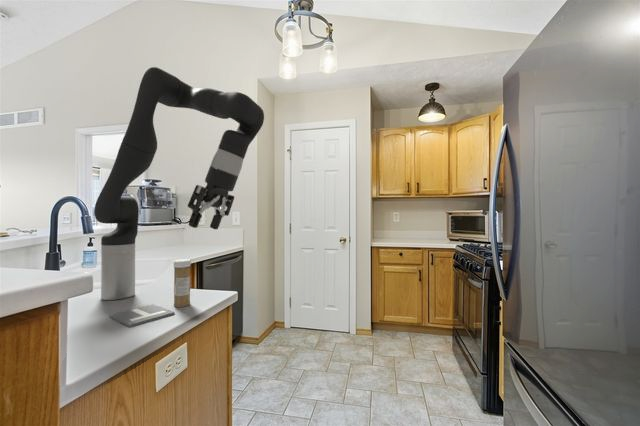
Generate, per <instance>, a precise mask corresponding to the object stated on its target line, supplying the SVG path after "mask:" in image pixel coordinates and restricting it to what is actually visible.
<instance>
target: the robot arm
mask: <svg viewBox="0 0 640 426" xmlns="http://www.w3.org/2000/svg"><path fill="white" fill-rule="evenodd" d="M136 96H137V97H136V99H135V100H136V101H135V104H134V106H133V107H134V108H133V111H132V115H131V117H130V121H129V123H128V126H127V129H126V132H125V134H124V136H123V138H122V141H121V143H120V146H119V149H118V151H117V155H116V158H115V160H114V162H113V165H112V168H111V171H110V173H109V175H108V178H107V179H106V181H105V183H104V185H103V188H102V189H101V191H100V193H99V195H98V197H97V199H96V202H95V204H94V211H93V214H94V218H95V220H96V221H97V222H99V223H100V224H109V225H110V224H114V225H115V224H116V228H115V229H114V230H112V231H111V232H109V233H107V234H104V235H103V236H101V239H100V242H101V243H100V246H101V247H100V249H101V251H100V252H101V253H100V254H101V256H100V258H101V263H100V269H101V270H100V272H101V273H100V300H103V301H114V300H121V299H127V298H131V297H133V296H135V295H136V239H137V236H138V227H139V215H140V214H139V211H140V210H139V203H138V201H137V200H136V198H134V197H133V196H130V195H123V194H124V192H125V191H126V190H127V188H128V186H129V185H131V183H132V182H134V181H135V180H136V179H138V178H139V177H140V176H142V174H144V173H145V172H146V171H147V170H149V168H150V166H151V165H152V162H153V161H154V158H155V155H156V153H157V150H158V139H157V134H156V131H155V124H154V115H155V113H156V112H155V111H156V107H157V105H158V103H159V104H161V105H163V106H167V107H169V108H178V109H179V108H180V109H188V110H189V109H191V110H194V111H197V112H200V113H203V114H206V115H209V116H211V117H215V118H218V119H224V120H229V119H232V121H233V120H234V121H235V122H236V123H238V126H237V127H236V129H235V130H234V129H233V130H232V129H227V130H225V131H224V132H223V134H222V136H221V139H220V142H219V145H218V147H217V150H216V152H215V154H214V156H213V157H212V160H211V163H210V165H209V168H208V171H207V174H206V176H205V179H204V182H205V183H206V186H205V187H204V186H202V185H200V184H196V185H195V187H194V188H193V192H192V194H191V195H190V196H191V197H190V199H189V201H188V204H187V207H188V209H191V211H192V212H191V215H190V218H189V220H188V226H189V227H191V228H194V229H196V228H198V227H199V223H200V221H201V219H202V215H203V212H205V211H206V210H207V209H210V208H213V209H214V214H213V217H212V219H211V222H210V226H209V227H210V229H213V230H218V229H219V227H220V225H221V222H222V219H223V218H224V217H225V216H229V215H230V212H231V209H232V206H233V203H234V200H235V195H233V194H230V193H229V192H233V191H234V189H235V187H236V184H237V181H238V179H239V176H240V173H241V170H242V167H243V165H244V164H243V163H244V159H245V157H246V154H247V152H248V148H249V146H250V144H252V142H253V140H254V139H255V138H256V136H257V135H258V133H259V132H260V130H261V128H262V127H263V125H264V122H265V112H264V110H263V109H262V107H261V106H260V105H259V104H257V102H255V101H254V100H253V99H252V98H251V97H250V96H248V95H247V94H245V93H243V92H239V91H228V92H227V91H226V92H224V91H220V90H218V89H214V88H209V87H201V88H197V87H193V86H191V85H189V84H187V83H185V82H184V81H182V80H181V79H179V78H178V77H177V76H175V75H173V74H171V73H170V72H167V71H165V70H164V69H161V68H160V67H157V66H151V67H149V68H148V69H147V70H146V71H145V72H144V74H143V76H142V78H141V80H140V84H139V88H138V92H137V95H136ZM195 201H196V202H195Z"/></svg>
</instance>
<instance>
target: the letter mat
mask: <svg viewBox="0 0 640 426" xmlns="http://www.w3.org/2000/svg"><path fill="white" fill-rule="evenodd" d="M173 315H175V311H173V310H170V309H167V308H165V307H162V306H159V305H156V304H154V303H152V304H148V305H144V306H139V307H135V308H131V309H128V310H123V311H120V312H115V313H111V314H109V316H108V317H109V318H110V319H112V320H114V321H116V322H118V323H120V324H122V325H124V326H127V327H128V328H132V327H136V326H138V325H141V324H146V323H149V322H153V321H156V320H160V319H163V318H167V317H170V316H173Z"/></svg>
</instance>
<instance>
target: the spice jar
mask: <svg viewBox="0 0 640 426" xmlns="http://www.w3.org/2000/svg"><path fill="white" fill-rule="evenodd" d="M191 263H192V261H191V260H190V259H189V258H187V259H186V258H181V259H176V260H175V259H174V261H173V270H174V273H173V275H174V276H173V277H174V281H173V298H174V299H173V306H174V307H175V308H182V307H187V306H190V305H191Z"/></svg>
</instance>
